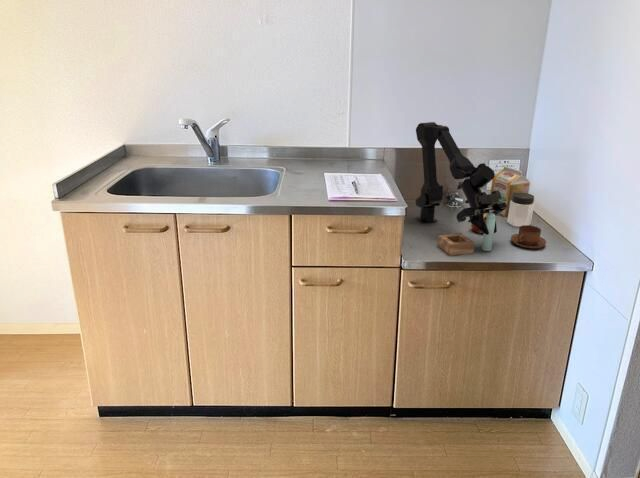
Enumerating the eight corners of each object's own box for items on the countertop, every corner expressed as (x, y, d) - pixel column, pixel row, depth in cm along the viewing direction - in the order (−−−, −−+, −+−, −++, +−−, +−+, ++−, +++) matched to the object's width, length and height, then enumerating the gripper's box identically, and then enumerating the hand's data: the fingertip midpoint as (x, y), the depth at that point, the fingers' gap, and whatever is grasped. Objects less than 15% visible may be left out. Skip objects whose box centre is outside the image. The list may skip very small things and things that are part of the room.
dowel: (479, 248, 176) (484, 212, 171) (487, 247, 177) (493, 211, 172) (484, 251, 173) (490, 215, 168) (492, 250, 174) (498, 214, 169)
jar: (523, 229, 194) (528, 200, 190) (503, 223, 200) (508, 195, 195) (533, 223, 200) (538, 195, 195) (514, 218, 206) (518, 190, 201)
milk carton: (524, 214, 211) (532, 170, 203) (504, 217, 207) (511, 173, 200) (507, 206, 220) (514, 164, 212) (488, 209, 216) (494, 167, 209)
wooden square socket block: (437, 245, 179) (438, 235, 178) (459, 243, 181) (461, 233, 180) (450, 255, 171) (451, 245, 170) (473, 252, 173) (474, 242, 172)
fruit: (481, 234, 186) (477, 213, 187) (470, 237, 193) (466, 217, 194) (500, 232, 188) (496, 211, 189) (488, 235, 195) (484, 215, 196)
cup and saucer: (541, 253, 173) (544, 237, 171) (506, 246, 179) (509, 230, 177) (547, 242, 182) (551, 227, 180) (514, 236, 188) (516, 220, 186)
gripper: (466, 186, 165) (485, 227, 161) (507, 179, 173) (527, 219, 168) (448, 201, 175) (465, 241, 170) (488, 194, 183) (506, 232, 178)
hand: (491, 233), depth 171 cm, fingers closed on dowel, 3 cm apart
